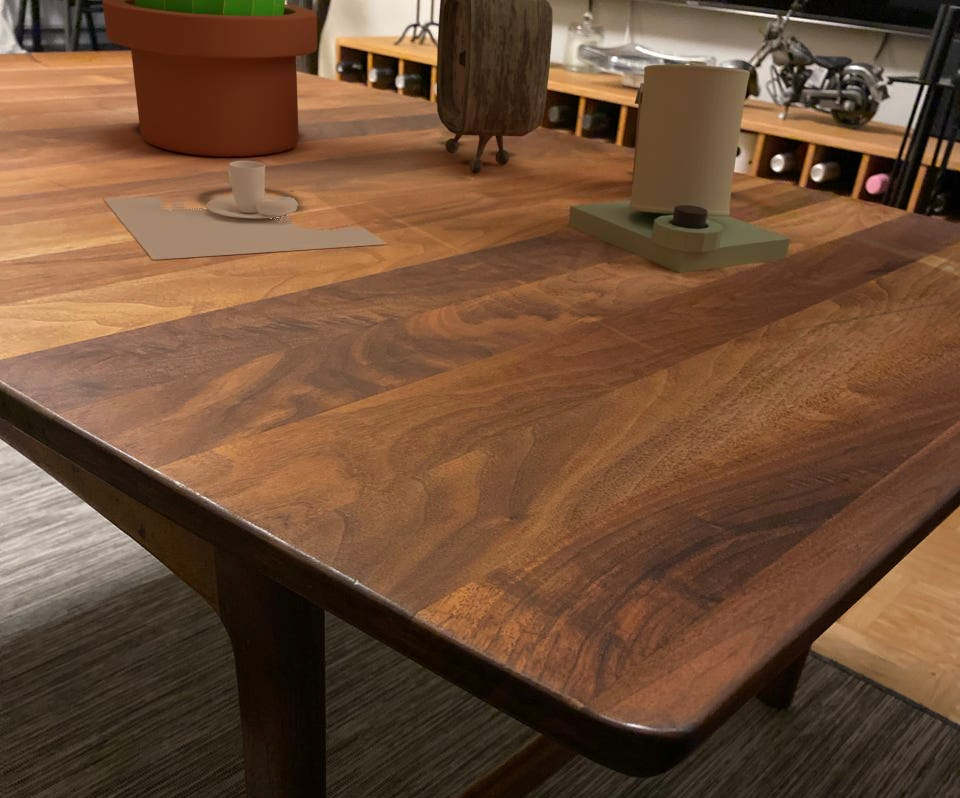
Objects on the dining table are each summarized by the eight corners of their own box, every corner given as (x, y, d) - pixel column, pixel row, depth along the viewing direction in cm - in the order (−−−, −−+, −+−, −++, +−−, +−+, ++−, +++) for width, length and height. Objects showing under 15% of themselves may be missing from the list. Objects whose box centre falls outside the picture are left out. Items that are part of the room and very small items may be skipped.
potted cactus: (244, 119, 132) (229, -124, 117) (355, 151, 120) (354, -113, 106) (84, 132, 119) (46, -139, 104) (192, 171, 107) (165, -130, 92)
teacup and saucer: (309, 223, 93) (308, 174, 91) (222, 228, 90) (218, 177, 87) (279, 199, 99) (277, 153, 97) (196, 203, 96) (192, 156, 94)
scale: (792, 262, 93) (802, 221, 91) (678, 278, 87) (686, 234, 85) (670, 216, 105) (676, 179, 103) (560, 227, 98) (564, 188, 96)
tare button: (711, 230, 88) (714, 211, 87) (686, 233, 87) (690, 214, 86) (689, 222, 90) (692, 203, 89) (664, 225, 89) (667, 206, 88)
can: (628, 211, 91) (645, 55, 86) (627, 206, 99) (643, 64, 94) (734, 218, 90) (758, 61, 85) (724, 213, 98) (745, 69, 93)
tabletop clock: (433, 150, 124) (443, -106, 109) (505, 152, 126) (524, -99, 111) (463, 178, 112) (479, -104, 98) (542, 179, 115) (568, -96, 100)
